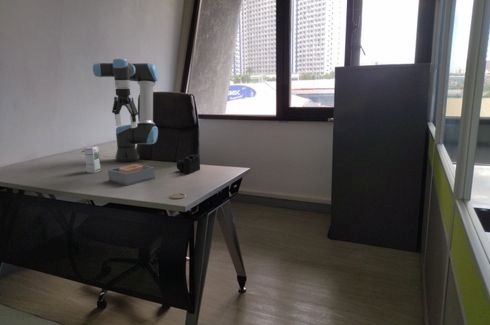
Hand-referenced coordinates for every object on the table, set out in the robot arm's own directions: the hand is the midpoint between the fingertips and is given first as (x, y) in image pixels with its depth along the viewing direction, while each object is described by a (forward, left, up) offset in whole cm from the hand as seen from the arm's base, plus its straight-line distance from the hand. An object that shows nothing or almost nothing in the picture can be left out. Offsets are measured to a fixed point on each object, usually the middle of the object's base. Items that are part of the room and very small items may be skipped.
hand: (126, 126), depth 202 cm
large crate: (+8, +14, -27) cm, 31 cm away
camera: (-23, +25, -27) cm, 43 cm away
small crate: (+9, +14, -26) cm, 31 cm away
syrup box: (+10, -20, -27) cm, 35 cm away
